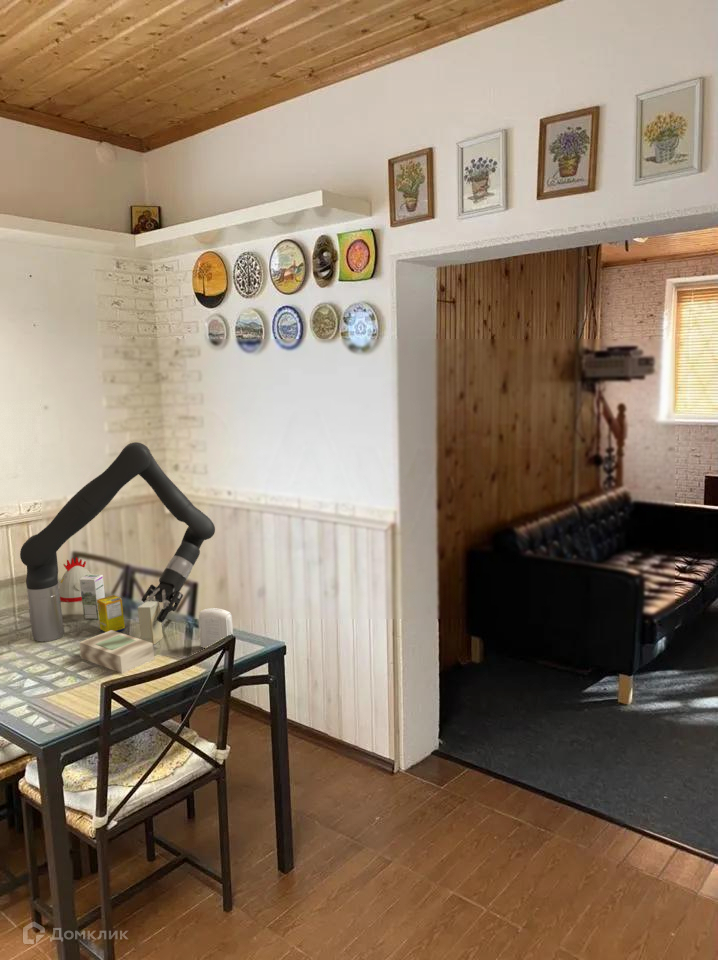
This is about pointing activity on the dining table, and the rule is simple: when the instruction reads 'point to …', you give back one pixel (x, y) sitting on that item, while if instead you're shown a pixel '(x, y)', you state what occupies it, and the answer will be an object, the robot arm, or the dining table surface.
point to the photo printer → (214, 625)
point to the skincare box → (150, 622)
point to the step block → (116, 651)
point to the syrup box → (91, 594)
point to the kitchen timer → (72, 581)
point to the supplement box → (111, 614)
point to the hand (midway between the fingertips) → (150, 618)
